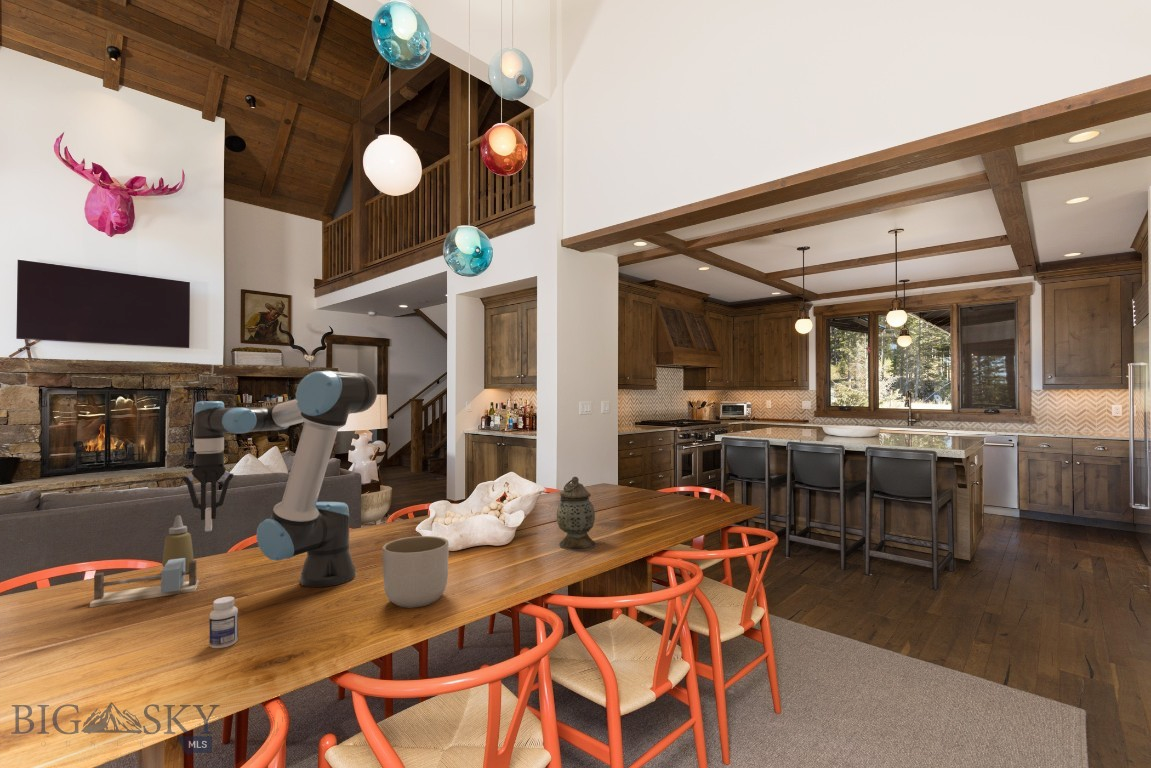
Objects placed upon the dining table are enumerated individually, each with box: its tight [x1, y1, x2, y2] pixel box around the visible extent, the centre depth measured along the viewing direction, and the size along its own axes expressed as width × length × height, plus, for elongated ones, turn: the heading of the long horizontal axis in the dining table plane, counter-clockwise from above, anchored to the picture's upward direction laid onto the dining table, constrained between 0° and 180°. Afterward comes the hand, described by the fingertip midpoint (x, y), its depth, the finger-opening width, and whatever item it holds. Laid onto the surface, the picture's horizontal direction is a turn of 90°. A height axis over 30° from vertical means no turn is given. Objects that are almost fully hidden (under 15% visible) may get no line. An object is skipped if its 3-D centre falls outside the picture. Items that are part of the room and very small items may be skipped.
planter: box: [381, 535, 450, 609], centre depth 145 cm, size 17×17×15 cm
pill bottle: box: [209, 596, 239, 649], centre depth 121 cm, size 5×5×10 cm
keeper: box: [160, 558, 186, 593], centre depth 155 cm, size 4×12×6 cm, turn 29°
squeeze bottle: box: [161, 515, 195, 571], centre depth 171 cm, size 8×8×18 cm
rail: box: [89, 559, 200, 608], centre depth 153 cm, size 23×8×8 cm, turn 119°
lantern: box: [556, 476, 597, 551], centre depth 197 cm, size 14×14×25 cm
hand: (208, 530), depth 164 cm, fingers closed
